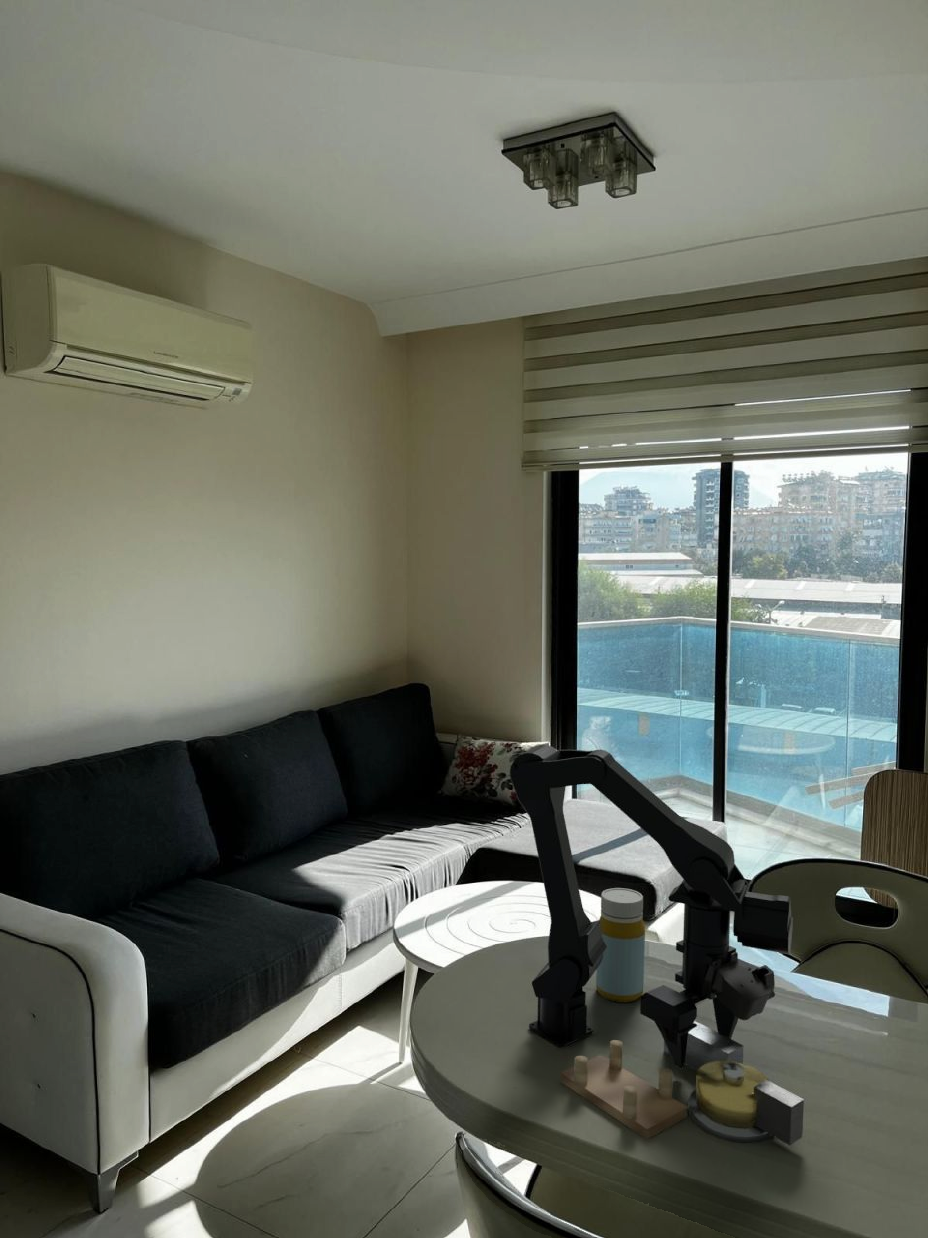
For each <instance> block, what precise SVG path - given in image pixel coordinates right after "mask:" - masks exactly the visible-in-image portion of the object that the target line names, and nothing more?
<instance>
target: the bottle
mask: <svg viewBox="0 0 928 1238" xmlns="http://www.w3.org/2000/svg"><path fill="white" fill-rule="evenodd" d="M600 908H601V909H600V917H599V919H598V920H600V921H601V930H602V938H603V941H604V943H605V944H606V946H607V948H606V949H605V951H604V952H603V959H602V962H601V964H600V965H599V966H598V968H597V969H596V971H595V973H596V976H595V977H596V978H595V979H596V980H595V982H596V983H595V984H596V986H595V988H596V990H597V992H598V993H599V994H600V995H601V996H602V997H603V998H604V997H605V998H604V999H606V998H607V1000H608V999H609V1001H612V1000H613V1001H612V1002H615V1001H617V1002H618V1003H630V1002H633V1000H634V1001H636V1000H638V999H639V998H640V996H642V995H643V994H644V979H645V976H644V975H645V947H646V945H645V943H646V942H645V941H646V926H645V923H644V919H643V914H644V913H643V910H644V895H642V893H640V892H639V891H637V890H634V889H630V888H623V887H614V888H608V889H604V890H603V891H602V892H601V896H600ZM637 998H638V999H637ZM629 1001H630V1002H629ZM617 1002H616V1003H617Z"/></svg>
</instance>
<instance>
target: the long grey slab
mask: <svg viewBox="0 0 928 1238" xmlns="http://www.w3.org/2000/svg"><path fill="white" fill-rule="evenodd" d="M694 1023H695V1024H697V1026H696V1027H695V1028H694V1029H692V1030H691V1031H689V1032H688V1039H687V1048H686V1057H685V1063H684V1065H686V1064H687V1065H686V1066H687V1067H690V1068H691V1067H692V1068H691V1069H693V1068H694V1069H693V1070H695V1071H698V1069H699V1068H700V1067H701V1066H703V1065H704V1064H707V1063H710V1062H714V1061H732V1062H737V1063H741V1064H744V1048H745V1047H744V1044H743V1043H742V1044H741V1043H739V1042H737V1041H736V1040H734V1039H732V1038H731V1039H730V1038H728V1037H726V1036H724V1035H722V1034H720V1033H718V1031H716V1030H714V1029H711V1028H710V1027H708V1026H707V1025H704V1024H702V1023H701V1022H698V1021H696V1020H695V1021H694ZM664 1052H665V1053H664ZM663 1053H664V1054H666V1053H667V1054H666V1055H668V1056H670V1057H671V1055H670V1052H669V1050H668V1048H667V1045H666V1043H665V1041H664V1040H663Z"/></svg>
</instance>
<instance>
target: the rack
mask: <svg viewBox="0 0 928 1238" xmlns="http://www.w3.org/2000/svg"><path fill="white" fill-rule="evenodd" d="M623 1047H624V1045H623V1042H622V1041H621V1040H618V1039H617V1040H616V1039H613V1040H611V1041H609V1058H607V1057H605V1056H604V1055H601V1054H599V1055H598V1056H595V1057H592V1058H591V1059H588V1057H586V1056H584V1055H577V1056H575V1057H574V1066H573V1067H571V1068H569V1069H567V1070H565V1071H562V1072H561V1074H560V1076H561V1077H560V1082H561V1083H562V1084H564V1086H566V1087H568V1088H569V1089H571V1090H573V1091H574V1092H575V1093H577V1094H578V1095H579V1096H581V1097H582V1098H584V1099H586V1100H588V1101H589V1102H590V1103H591V1104H593V1105H595V1106H596V1107H598V1108H599V1109H601V1110H602V1111H604V1112H606V1113H607V1114H609V1116H611V1117H613V1118H614V1119H616V1120H617V1121H619V1122H620V1123H622V1124H623V1125H625V1126H626V1127H628V1128H630V1129H631V1130H632V1131H634V1132H636V1133H637V1134H638V1135H641V1136H642V1137H643V1138H644V1139H646V1140H648V1139H650V1138H652V1137H653V1136H655V1135H657V1134H659V1133H661V1132H663V1131H665V1130H666V1129H668V1128H670V1127H672V1126H673V1125H675V1124H677V1123H678V1122H680V1121H682V1120H684V1119H686V1118H688V1106H687V1105H685V1104H683V1103H682V1102H680V1101H678V1100H676V1099H675V1098H674V1097H673V1082H674V1081H673V1079H674V1078H673V1077H674V1076H673V1075H674V1074H673V1073H674V1072H673V1071H672V1070H671V1069H670V1068H666V1067H665V1068H659V1071H658V1088H656V1086H653V1085H651V1084H650V1083H648V1082H647V1081H645V1080H643V1079H641V1078H640V1077H638V1076H637V1075H635V1074H633V1073H632V1072H630V1071H629V1070H626V1069H625V1068H623V1053H624V1052H623Z"/></svg>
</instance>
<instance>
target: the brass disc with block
mask: <svg viewBox="0 0 928 1238" xmlns="http://www.w3.org/2000/svg"><path fill="white" fill-rule="evenodd" d="M726 1063H737V1062H732V1061H714V1062H710V1063H707V1064H704V1065H703V1066H701V1067H700V1068H699V1069H698V1071H697V1070H696V1071H697V1072H696V1075H695V1076H696V1082H695V1089H696V1103H697V1106H698V1108H699V1109H700V1110H701V1111H702V1112H703V1113H704V1114H705V1115H706V1116H708V1117H709V1118H711V1119H713V1120H715V1121H717V1122H720V1123H723V1124H726V1125H730V1126H736V1127H751V1126H757V1127H759V1128H761V1129H762V1130H764V1131H766V1132H767V1133H769V1134H771V1136H773V1137H774V1138H776V1139H778V1140H780V1141H781V1142H783V1143H785V1144H787V1145H788V1146H791V1145H793V1144H794V1143H796V1142H798V1141H799V1140H800V1139H802V1138H803V1133H804V1132H803V1131H804V1130H803V1127H804V1110H805V1109H804V1108H805V1107H804V1105H805V1104H804V1103H805V1099H804V1098H803V1097H801V1096H798V1095H796V1094H794V1093H793V1092H791V1091H789V1090H787V1089H785V1088H783V1087H781V1086H779V1085H777V1084H775V1083H773V1082H772V1081H770V1080H769V1079H768V1077H767V1076H766V1075H765V1074H764V1073H762V1071H760V1070H758V1069H757V1068H755V1067H752V1066H750V1065H747V1064H744V1063H743V1064H741V1063H737V1064H739V1065H741V1066H742V1067H743V1068H744V1082H742V1083H740V1084H733V1083H729V1082H727V1081H726V1080H724V1078H723V1065H724V1064H726Z"/></svg>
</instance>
